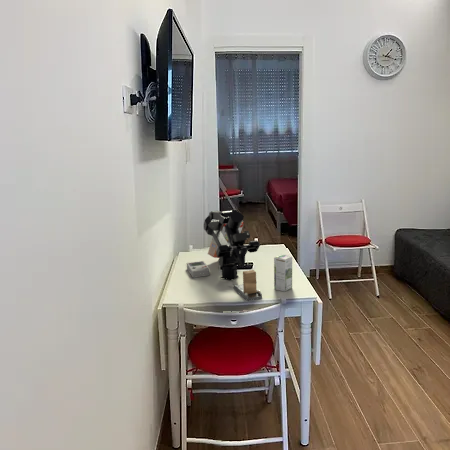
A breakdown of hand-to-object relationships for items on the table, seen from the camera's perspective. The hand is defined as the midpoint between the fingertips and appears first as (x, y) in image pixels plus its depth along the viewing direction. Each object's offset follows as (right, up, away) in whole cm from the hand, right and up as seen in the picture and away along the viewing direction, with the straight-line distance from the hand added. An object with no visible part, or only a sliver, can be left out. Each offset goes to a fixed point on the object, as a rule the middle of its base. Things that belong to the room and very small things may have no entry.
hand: (243, 265), depth 185 cm
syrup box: (+17, -10, +3) cm, 20 cm away
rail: (+2, -12, 0) cm, 12 cm away
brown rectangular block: (+2, -11, -4) cm, 12 cm away
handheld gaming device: (-21, -7, +30) cm, 38 cm away
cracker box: (-11, 0, +46) cm, 47 cm away
